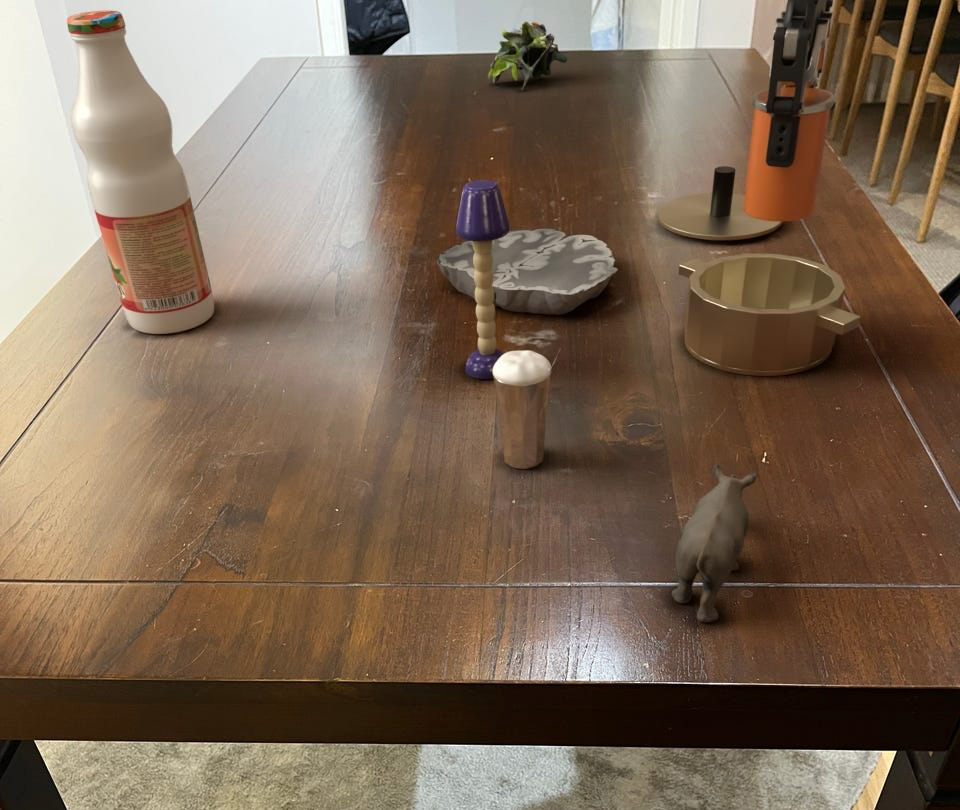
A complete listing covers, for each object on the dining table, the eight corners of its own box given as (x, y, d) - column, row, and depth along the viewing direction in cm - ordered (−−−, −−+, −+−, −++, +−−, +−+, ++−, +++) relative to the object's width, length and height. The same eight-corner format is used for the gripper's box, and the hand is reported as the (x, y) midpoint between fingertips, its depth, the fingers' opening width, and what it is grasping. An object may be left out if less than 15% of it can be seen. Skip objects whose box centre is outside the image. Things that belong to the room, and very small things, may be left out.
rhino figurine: (759, 515, 76) (771, 445, 72) (723, 629, 66) (734, 555, 62) (705, 506, 77) (714, 436, 73) (661, 616, 68) (668, 543, 64)
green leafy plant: (536, 113, 181) (576, 49, 175) (525, 117, 172) (568, 50, 165) (485, 72, 179) (524, 6, 173) (472, 74, 170) (512, 4, 164)
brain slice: (649, 273, 111) (651, 246, 109) (571, 333, 101) (571, 304, 99) (500, 243, 120) (500, 217, 118) (414, 295, 109) (412, 268, 107)
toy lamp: (458, 361, 97) (446, 180, 86) (504, 353, 98) (498, 172, 87) (473, 383, 94) (462, 197, 82) (520, 374, 94) (516, 188, 83)
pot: (727, 293, 106) (734, 235, 102) (886, 352, 94) (901, 289, 90) (634, 333, 100) (638, 273, 96) (792, 401, 88) (803, 337, 84)
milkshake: (552, 478, 81) (552, 362, 74) (489, 469, 82) (483, 355, 76) (567, 449, 84) (568, 336, 77) (506, 441, 85) (502, 329, 79)
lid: (713, 193, 129) (718, 142, 125) (808, 222, 120) (817, 167, 116) (631, 223, 122) (634, 170, 118) (725, 255, 114) (732, 199, 109)
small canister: (772, 192, 92) (787, 82, 86) (831, 208, 88) (851, 94, 82) (725, 210, 89) (737, 98, 83) (783, 228, 85) (800, 111, 79)
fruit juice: (181, 341, 103) (100, 28, 85) (109, 329, 106) (15, 24, 88) (233, 305, 110) (169, 6, 91) (163, 294, 113) (87, 3, 94)
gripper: (862, -76, 68) (820, 183, 79) (882, -104, 78) (842, 130, 89) (750, -75, 70) (724, 177, 81) (783, -102, 80) (756, 126, 91)
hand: (786, 152), depth 85 cm, fingers closed on small canister, 6 cm apart
